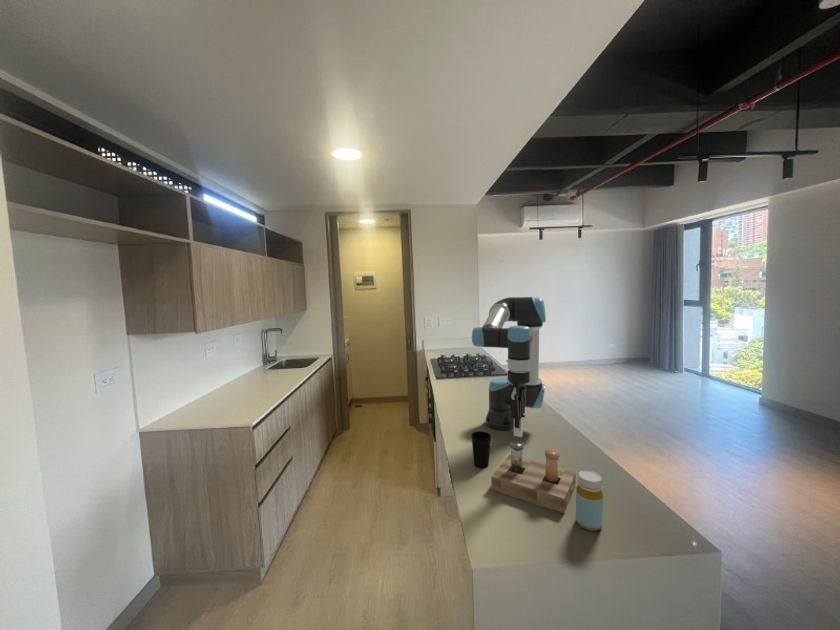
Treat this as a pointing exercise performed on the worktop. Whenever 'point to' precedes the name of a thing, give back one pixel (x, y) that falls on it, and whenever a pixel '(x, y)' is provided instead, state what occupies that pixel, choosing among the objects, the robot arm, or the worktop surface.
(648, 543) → the worktop surface
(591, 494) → the bottle
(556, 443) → the worktop surface
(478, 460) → the cup
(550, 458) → the terracotta plug
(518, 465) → the grey plug
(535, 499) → the block
